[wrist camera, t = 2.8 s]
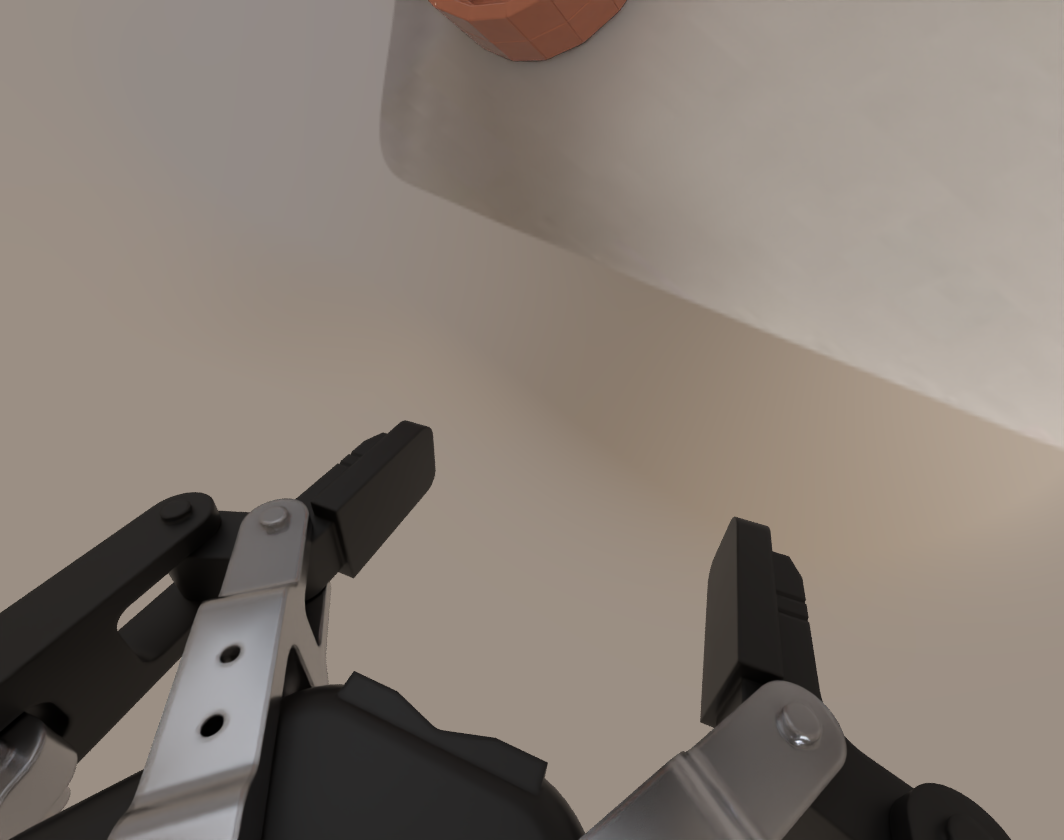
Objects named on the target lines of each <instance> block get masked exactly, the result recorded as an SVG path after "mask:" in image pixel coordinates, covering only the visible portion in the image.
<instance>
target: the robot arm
mask: <svg viewBox="0 0 1064 840" xmlns="http://www.w3.org/2000/svg"><path fill="white" fill-rule="evenodd" d="M434 458H435V457H434V443H433V432H432V430H431V428H430V427H427V426H423V425H420V424H416V423H413V422H410V421H402V422H400V423H399V424H398V425H397V426H396V427H394V428H393V429H392V430H391V431H390V432H389V433H388V434H386V433H381V434H379V435H376V436H374V437H372V438H370V439H368V440H366V441H364V442H363V443H362V444H361V445H359V446H358V447H357V448H356V449H355V450H353V451H352V453H351V455H350V454H349V455H347V456H346V457H345V458H344V459H343V460H341V462H340V464H337V465H335V466H334V467H333V468H332V469H331V470H330V471H328V472H327V473H326V474H325V475H324V476H322V477H321V478H320V479H319V480H318V481H317V482H315V483H314V484H313V485H312V486H311V487H309V488H308V489H307V490H306V491H305V492H303V493H302V494H301V495H300V496H299V497H298V498H296V499H277V500H273V501H270V502H267V503H264V504H262V505H260V506H258V507H257V508H255V509H254V510H252V511H251V512H231V511H218V510H217V508H216V505H215V503H214V501H213V499H212V498H211V497H210V496H208V495H207V494H204V493H196V492H192V493H183V494H180V495H176V496H173V497H170V498H168V499H165V500H163V501H161V502H159V503H158V504H156V505H155V506H153V507H152V508H150V509H149V510H147V511H146V512H144V513H143V514H142V515H140V516H139V517H137V518H136V519H134V520H133V521H132V522H130V523H129V524H127V525H126V526H124V527H123V528H122V529H120V530H119V531H117V532H116V533H114V534H113V535H111V536H110V537H109V538H107V539H106V540H104V541H103V542H101V543H100V544H99V545H97V546H96V547H94V548H93V549H92V550H90V551H88V552H87V553H86V554H84V555H83V556H82V557H80V558H79V559H77V560H76V561H74V562H73V563H71V564H70V565H69V566H67V567H66V568H64V569H63V570H61V571H60V572H58V573H57V574H55V575H54V576H53V577H51V578H50V579H48V580H47V581H45V582H44V583H43V584H41V585H40V586H38V587H37V588H36V589H34V590H33V591H31V592H30V593H28V594H27V595H25V596H24V597H22V599H20V600H18V601H17V602H15V603H14V604H12V605H11V606H10V607H8V608H7V609H5V610H4V611H2V612H1V613H0V840H1011V839H1010V838H1009V836H1008V835H1007V834H1006V833H1005V831H1004V830H1003V829H1002V828H1001V827H1000V826H999V824H998V823H997V822H996V821H995V820H994V819H993V818H992V817H991V816H990V815H989V814H988V813H986V811H984V810H983V809H982V808H981V807H980V806H979V805H977V804H976V803H975V802H974V801H972V800H971V799H969V798H968V797H966V796H965V795H963V794H962V793H960V792H958V791H956V790H954V789H952V788H949V787H947V786H944V785H940V784H935V783H925V784H921V785H919V786H917V787H915V788H912V787H911V786H909V785H908V784H906V783H905V782H904V781H902V780H901V779H899V778H898V777H896V776H895V775H894V774H892V773H891V772H889V771H888V770H886V769H885V768H884V767H882V766H880V765H879V764H878V763H876V762H875V761H873V760H872V759H871V758H869V757H867V756H866V755H865V754H864V753H862V752H861V751H860V750H858V749H857V748H856V747H855V746H854V745H853V744H852V743H851V742H850V741H849V740H848V739H847V738H846V737H845V736H844V734H843V731H842V729H841V727H840V725H839V723H838V721H837V720H836V718H835V717H834V715H833V714H832V713H831V712H830V710H829V709H828V708H827V706H826V705H824V703H823V701H822V698H821V694H820V689H819V683H818V676H817V671H816V663H815V657H814V650H813V644H812V637H811V631H810V625H809V622H808V612H807V606H806V604H805V600H806V599H805V593H804V586H803V580H802V577H801V575H800V574H799V572H798V570H797V569H796V567H795V565H794V564H793V562H792V561H791V559H790V557H789V556H786V555H783V554H779V553H776V552H773V551H772V543H771V533H770V529H769V527H768V526H765V525H762V524H758V523H754V522H751V521H748V520H744V519H741V518H738V517H733V518H732V520H731V522H730V524H729V526H728V528H727V530H726V533H725V535H724V537H723V539H722V541H721V544H720V546H719V548H718V550H717V552H716V555H715V557H714V559H713V562H712V565H711V569H710V573H709V579H708V591H707V608H706V627H705V646H704V665H703V681H702V700H701V719H700V722H701V723H704V724H706V725H709V726H711V727H713V728H714V729H713V730H712V731H710V732H709V733H708V734H707V735H706V736H705V737H704V738H703V739H701V740H700V741H699V742H698V743H697V744H696V745H695V746H694V747H692V748H691V749H690V750H688V751H686V752H684V751H683V752H680V753H679V754H677V755H676V756H675V757H673V758H672V759H671V760H670V761H668V762H667V763H666V764H665V765H664V766H662V768H660V769H659V770H658V771H657V772H656V773H655V774H653V775H652V776H651V777H650V778H649V779H648V780H646V781H645V782H644V783H643V784H642V785H641V786H640V787H638V788H637V789H636V790H635V791H634V792H633V793H632V794H630V795H629V796H628V797H627V798H626V799H625V800H624V801H623V802H621V803H620V804H619V805H618V806H617V807H615V808H614V809H613V810H612V811H611V812H610V813H609V814H607V815H606V816H605V817H604V818H603V819H602V820H601V821H599V822H598V823H597V824H596V825H595V826H594V827H593V828H591V829H590V830H589V831H588V832H587V833H586V834H585V832H584V830H583V828H582V826H581V824H580V822H579V820H578V819H577V816H576V815H575V813H574V812H573V810H572V809H571V808H570V806H569V804H568V803H567V801H566V800H565V799H564V798H563V797H562V795H561V794H560V793H559V792H558V791H557V789H556V788H555V787H554V786H552V785H551V784H550V783H549V782H548V781H547V780H546V779H545V773H546V769H547V764H548V763H547V762H545V761H543V760H541V759H539V758H537V757H535V756H532V755H530V754H528V753H526V752H524V751H522V750H520V749H518V748H516V747H513V746H512V745H509V744H507V743H505V742H503V741H501V740H499V739H497V738H492V737H485V736H478V735H471V734H464V733H457V732H450V731H443V730H439V729H437V728H435V727H434V726H433V725H432V724H431V723H430V722H429V721H428V720H427V719H425V718H424V717H423V716H422V715H421V714H420V713H419V712H418V711H417V710H416V709H415V708H414V707H413V706H412V705H411V704H410V703H409V702H408V701H407V700H406V699H405V698H404V697H403V696H401V695H400V694H399V693H398V692H397V691H395V690H393V689H391V688H389V687H387V686H385V685H383V684H380V683H378V682H376V681H374V680H372V679H370V678H368V677H366V676H364V675H362V674H359V673H357V672H355V671H354V672H353V673H352V675H351V676H350V677H349V679H348V680H347V682H346V683H345V685H342V684H339V685H338V684H337V685H328V673H327V665H326V647H327V634H328V633H327V632H328V621H329V607H330V595H331V583H330V580H331V579H332V578H333V577H334V576H335V575H336V574H337V572H340V573H342V574H345V575H347V576H350V577H352V578H354V577H355V576H356V575H357V574H358V573H359V571H360V570H361V569H362V568H363V566H365V564H366V563H367V562H368V561H369V560H370V558H371V557H372V556H373V555H374V554H375V553H376V551H377V550H378V549H379V548H380V547H381V546H382V544H383V543H384V542H385V541H386V540H387V538H388V537H389V536H390V535H391V534H392V532H393V531H394V530H395V529H396V528H397V527H398V525H399V524H400V523H401V522H402V521H403V519H404V518H405V517H406V516H407V515H408V514H409V512H410V511H411V510H412V509H413V508H414V506H415V505H416V504H417V503H418V502H419V501H420V499H421V498H422V497H423V496H424V495H425V493H426V492H427V491H428V490H429V488H430V487H431V485H432V482H433V480H434V476H435V459H434ZM168 573H169V575H170V577H171V578H172V580H173V581H174V583H173V584H171V585H170V586H169V587H168V588H167V589H166V590H165V591H164V592H162V593H161V594H160V595H159V596H158V597H156V598H155V599H154V600H153V601H152V602H151V603H150V604H149V605H147V606H146V607H145V608H144V609H143V610H142V611H140V612H139V613H138V614H137V615H136V616H135V617H133V619H131V620H130V621H129V622H128V623H127V624H125V625H124V626H123V627H122V628H121V629H120V630H119V631H117V623H118V620H119V618H120V616H121V614H122V613H123V612H124V611H125V610H126V608H127V607H129V606H130V605H131V604H132V603H133V602H134V601H136V600H137V599H138V598H139V597H140V596H142V595H143V594H144V593H145V592H146V591H148V590H149V589H150V588H151V587H152V586H153V585H155V584H156V583H157V582H158V581H159V580H161V579H162V578H163V577H164V576H165V575H166V574H168ZM181 657H182V658H181ZM180 658H181V661H180V664H179V667H178V670H177V673H176V676H175V679H174V682H173V685H172V688H171V690H170V693H169V697H168V700H167V702H166V705H165V708H164V711H163V714H162V717H161V720H160V723H159V726H158V729H157V732H156V735H155V738H154V741H153V744H152V747H151V750H150V753H149V756H148V759H147V762H146V765H145V768H144V769H143V770H141V771H139V772H137V773H135V774H133V775H131V776H130V777H127V778H126V779H124V780H122V781H120V782H118V783H116V784H114V785H112V786H110V787H108V788H106V789H104V790H102V791H100V792H98V793H96V794H94V795H92V796H90V797H88V798H87V799H85V800H83V801H81V802H79V803H77V804H75V805H73V806H71V807H69V808H67V809H65V810H63V811H61V810H62V809H63V808H64V806H65V805H66V804H67V802H68V800H69V797H70V788H69V787H68V785H69V782H70V781H71V779H72V777H73V775H74V772H75V769H76V766H77V764H78V762H79V761H80V760H81V759H82V758H83V757H84V756H85V755H86V754H87V753H88V752H89V751H90V750H91V749H92V748H93V747H94V746H95V745H96V744H97V743H98V742H99V741H100V740H101V739H102V738H103V737H104V736H105V735H106V734H107V733H108V731H110V730H111V729H112V728H113V727H114V725H116V723H117V722H118V721H119V720H120V719H121V718H122V717H123V716H124V715H125V714H126V713H127V712H128V711H129V710H130V709H131V708H132V707H133V706H134V705H135V704H136V703H137V702H138V701H139V700H140V698H142V697H143V696H144V695H145V693H147V692H148V691H149V690H150V689H151V688H152V686H153V685H154V684H155V683H156V682H157V681H158V680H159V679H160V678H161V677H162V676H163V675H164V674H165V673H166V672H167V671H168V670H169V669H170V668H171V667H172V666H173V665H174V664H175V663H176V662H177V661H178V660H179V659H180Z"/></svg>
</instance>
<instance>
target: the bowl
mask: <svg viewBox="0 0 1064 840" xmlns="http://www.w3.org/2000/svg"><path fill="white" fill-rule="evenodd" d="M428 1H429V2H430V3H431V4H432V5H433V6H434V7H435V8H436V9H437V10H438V11H440V12H441V13H442V14H443V15H444V16H446V17H447V18H448V19H449V20H450V21H452V22H453V23H454V24H455V25H456V26H458V27H459V28H460V29H461V30H462V31H463V32H465V33H466V34H467V35H468V36H469V37H471V38H472V39H473V40H474V41H475V42H477V43H478V44H479V45H480V46H481V47H483V48H484V49H486V50H488V51H490V52H493V53H495V54H497V55H500V56H502V57H504V58H507V59H509V60H511V61H530V60H547V59H549V58H552V57H554V56H556V55H558V54H560V53H563V52H565V51H567V50H569V49H571V48H574V47H576V46H578V45H580V44H582V42H585V41H586V40H587V39H588V38H590V37H591V36H592V35H593V34H594V33H595V32H596V31H597V30H599V29H600V28H601V27H602V26H603V25H604V24H605V23H606V22H608V21H609V20H610V19H611V18H612V17H613V16H614V15H615V14H616V13H618V11H619V10H620V9H621V8H622V6H623V5H624V3H625V2H626V0H428Z"/></svg>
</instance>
